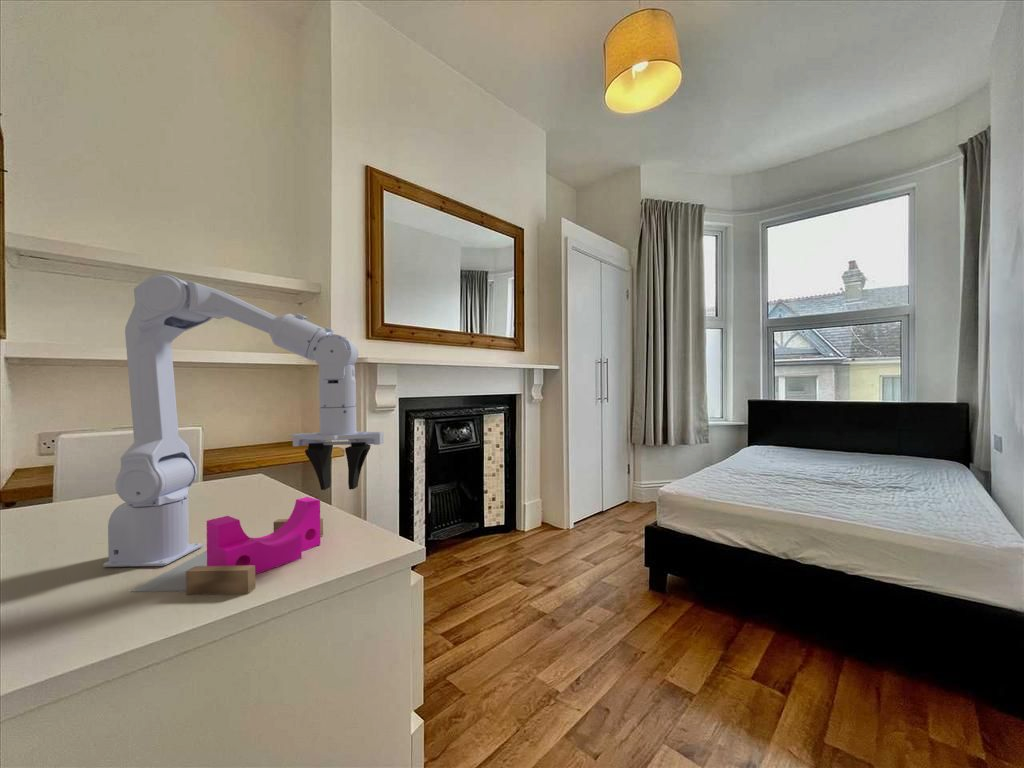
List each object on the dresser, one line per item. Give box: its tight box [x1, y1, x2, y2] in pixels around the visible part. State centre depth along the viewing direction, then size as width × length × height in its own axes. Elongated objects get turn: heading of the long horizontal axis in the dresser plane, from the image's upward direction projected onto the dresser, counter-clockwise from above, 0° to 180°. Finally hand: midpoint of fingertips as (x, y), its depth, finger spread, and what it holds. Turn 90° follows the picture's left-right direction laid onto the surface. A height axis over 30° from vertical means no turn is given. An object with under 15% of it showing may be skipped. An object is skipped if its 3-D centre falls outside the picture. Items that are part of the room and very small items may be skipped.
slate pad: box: [130, 550, 207, 593], centre depth 65 cm, size 8×19×1 cm, turn 179°
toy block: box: [206, 496, 321, 575], centre depth 64 cm, size 15×6×8 cm, turn 146°
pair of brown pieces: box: [185, 517, 324, 596], centre depth 64 cm, size 8×21×3 cm, turn 0°
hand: (339, 488), depth 70 cm, fingers open, 4 cm apart
